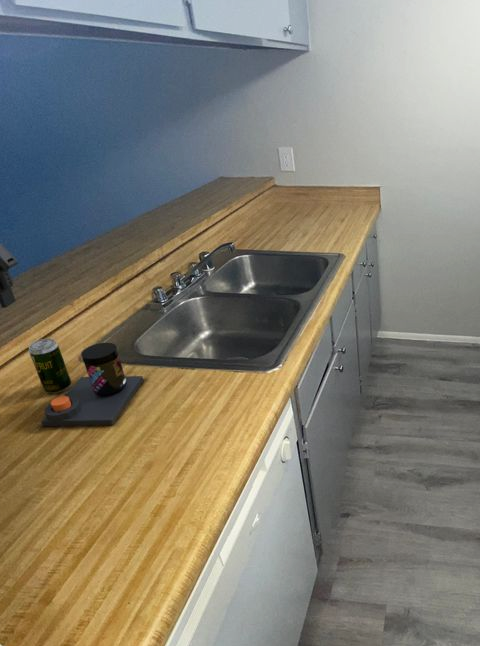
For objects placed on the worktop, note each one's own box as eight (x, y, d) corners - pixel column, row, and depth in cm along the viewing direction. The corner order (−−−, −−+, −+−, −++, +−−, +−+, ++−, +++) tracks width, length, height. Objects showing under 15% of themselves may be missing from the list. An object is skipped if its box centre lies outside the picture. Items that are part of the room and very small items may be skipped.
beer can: (51, 381, 112) (34, 338, 107) (76, 380, 113) (61, 337, 108) (40, 395, 108) (22, 351, 102) (66, 393, 109) (49, 349, 103)
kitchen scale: (42, 426, 99) (37, 415, 97) (82, 381, 113) (79, 371, 112) (112, 425, 100) (109, 414, 99) (143, 380, 114) (140, 370, 113)
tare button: (50, 412, 99) (47, 405, 98) (58, 402, 102) (56, 396, 101) (66, 411, 99) (63, 405, 98) (74, 402, 102) (71, 395, 101)
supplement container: (95, 383, 110) (82, 345, 105) (128, 377, 113) (117, 340, 108) (92, 400, 105) (79, 361, 100) (126, 393, 107) (115, 355, 103)
